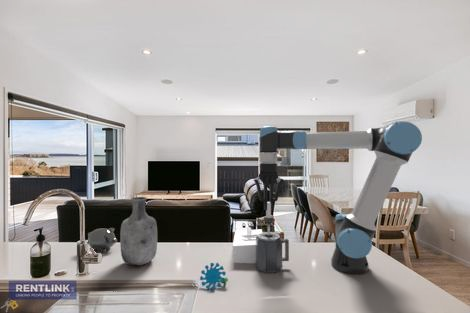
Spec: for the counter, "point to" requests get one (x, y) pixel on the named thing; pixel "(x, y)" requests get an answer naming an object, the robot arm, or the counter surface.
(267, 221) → the plunger
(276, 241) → the carafe
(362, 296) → the counter surface
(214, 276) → the gear
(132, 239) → the vase
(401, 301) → the counter surface
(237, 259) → the tissue box
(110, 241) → the piggy bank
